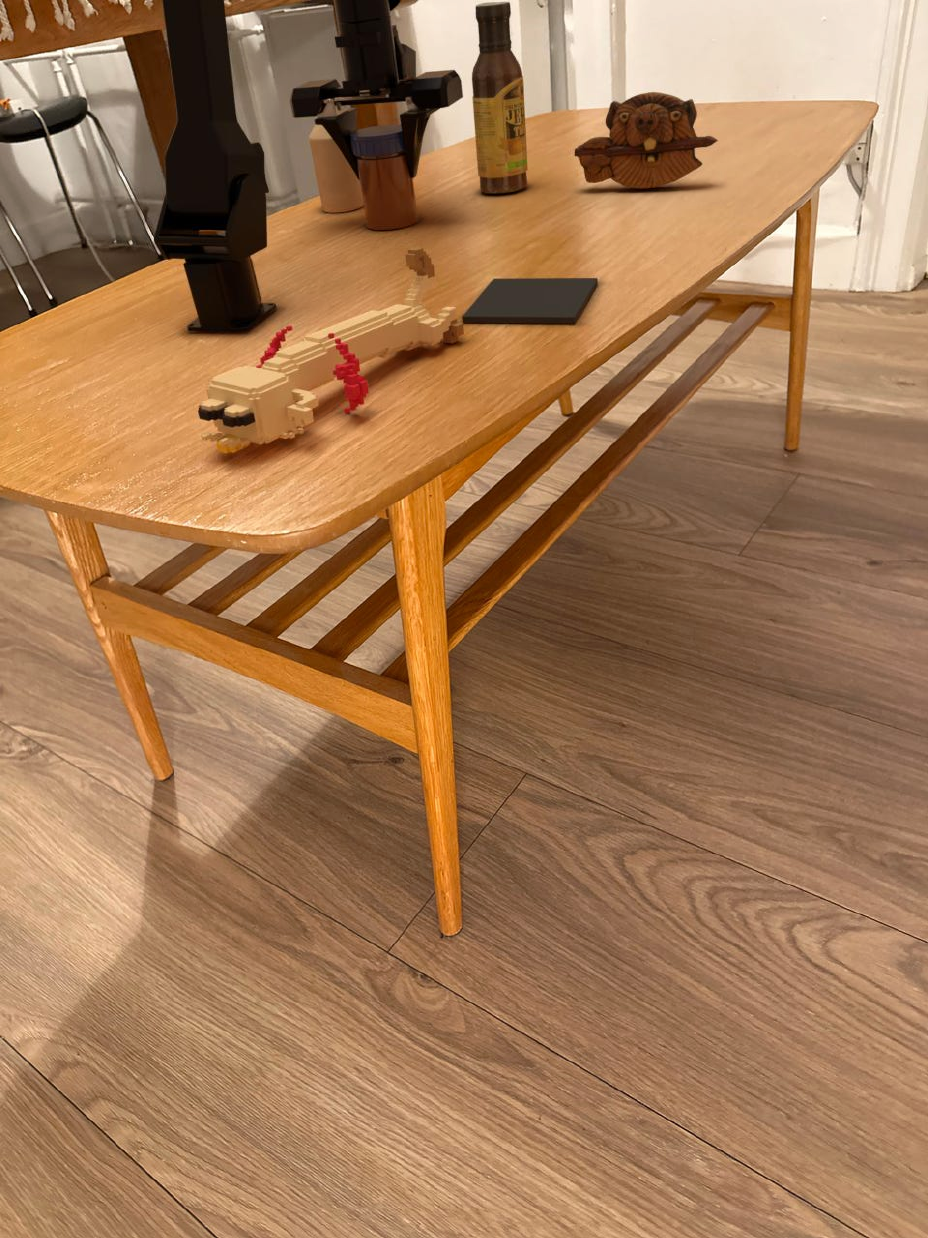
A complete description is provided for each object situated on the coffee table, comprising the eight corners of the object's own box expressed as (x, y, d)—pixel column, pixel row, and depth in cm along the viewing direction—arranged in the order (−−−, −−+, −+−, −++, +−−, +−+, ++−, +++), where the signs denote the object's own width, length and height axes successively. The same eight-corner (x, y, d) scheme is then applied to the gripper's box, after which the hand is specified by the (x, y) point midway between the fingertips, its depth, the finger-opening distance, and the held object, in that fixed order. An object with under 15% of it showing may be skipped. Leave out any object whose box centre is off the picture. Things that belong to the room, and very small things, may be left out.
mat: (574, 324, 77) (574, 317, 77) (462, 323, 80) (461, 316, 80) (597, 284, 84) (597, 277, 84) (494, 284, 87) (493, 278, 87)
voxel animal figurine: (393, 343, 81) (168, 441, 65) (383, 238, 76) (137, 316, 60) (485, 359, 76) (266, 470, 60) (480, 248, 71) (240, 336, 55)
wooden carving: (573, 197, 110) (570, 103, 104) (578, 187, 113) (576, 95, 107) (714, 189, 106) (720, 91, 100) (715, 180, 109) (721, 84, 103)
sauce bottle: (518, 196, 113) (506, 3, 101) (472, 196, 115) (455, 8, 103) (536, 182, 118) (526, -3, 106) (491, 183, 120) (476, 1, 108)
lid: (420, 141, 106) (418, 122, 105) (399, 154, 101) (396, 134, 100) (366, 144, 108) (363, 125, 107) (342, 157, 103) (339, 137, 102)
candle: (357, 211, 115) (343, 123, 109) (316, 214, 117) (300, 126, 111) (369, 200, 120) (356, 114, 114) (330, 202, 121) (314, 117, 115)
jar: (407, 229, 106) (396, 142, 101) (358, 230, 108) (345, 145, 102) (425, 215, 111) (415, 131, 105) (378, 216, 112) (366, 134, 107)
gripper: (470, 1, 100) (483, 157, 110) (317, 16, 106) (343, 163, 115) (437, 15, 92) (454, 182, 101) (273, 31, 97) (304, 188, 107)
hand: (387, 177), depth 106 cm, fingers closed on jar, lid, 6 cm apart
